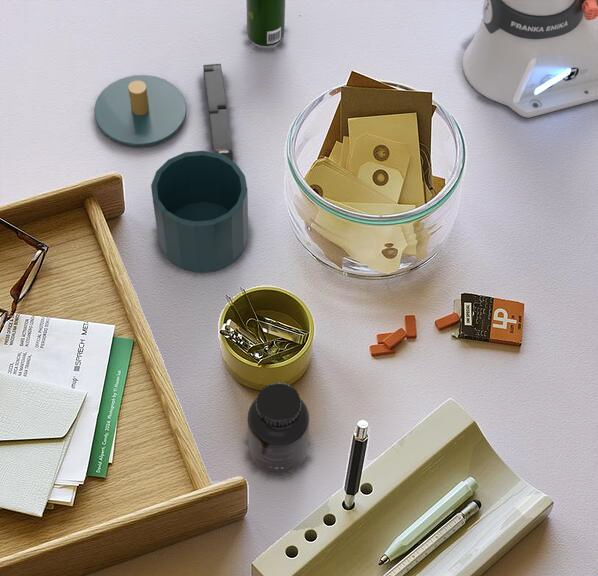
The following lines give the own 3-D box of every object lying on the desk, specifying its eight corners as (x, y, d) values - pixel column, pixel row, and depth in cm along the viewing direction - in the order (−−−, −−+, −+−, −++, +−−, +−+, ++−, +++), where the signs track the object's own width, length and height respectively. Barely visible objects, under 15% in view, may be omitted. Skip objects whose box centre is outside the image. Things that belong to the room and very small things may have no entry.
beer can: (291, 39, 151) (294, -32, 140) (262, 55, 149) (262, -15, 138) (268, 17, 152) (269, -54, 142) (239, 33, 151) (237, -37, 140)
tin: (154, 205, 136) (147, 155, 128) (241, 196, 138) (240, 146, 129) (163, 277, 132) (156, 230, 123) (253, 267, 133) (252, 220, 124)
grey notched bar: (203, 76, 147) (202, 59, 144) (221, 74, 147) (220, 58, 144) (215, 175, 139) (214, 160, 136) (234, 174, 139) (234, 159, 137)
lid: (92, 85, 145) (87, 57, 141) (181, 77, 147) (179, 48, 142) (98, 153, 140) (93, 126, 135) (191, 144, 141) (189, 117, 137)
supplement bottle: (249, 422, 123) (248, 371, 112) (308, 424, 123) (312, 373, 112) (246, 475, 120) (245, 428, 109) (306, 478, 120) (310, 431, 109)
